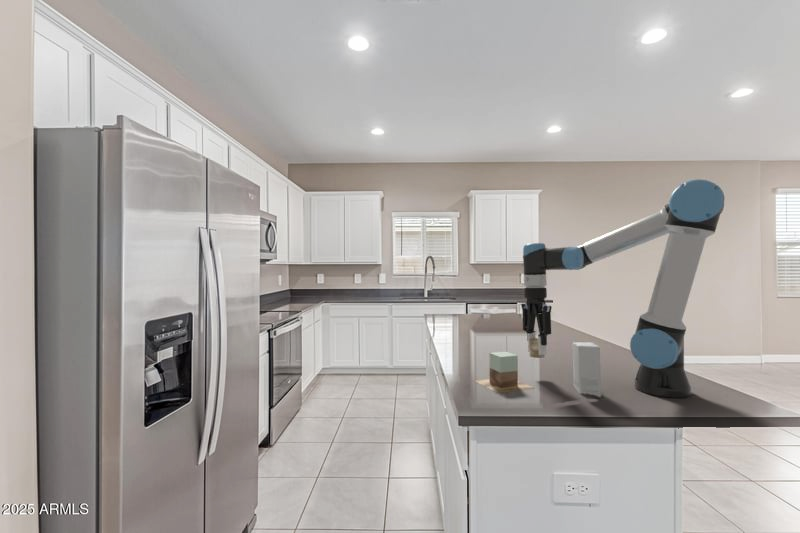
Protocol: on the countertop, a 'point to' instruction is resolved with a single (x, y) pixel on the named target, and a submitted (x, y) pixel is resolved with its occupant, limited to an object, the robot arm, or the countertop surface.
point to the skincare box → (586, 368)
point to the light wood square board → (499, 390)
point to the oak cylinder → (534, 348)
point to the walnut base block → (503, 378)
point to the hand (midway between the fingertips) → (537, 352)
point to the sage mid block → (503, 361)
